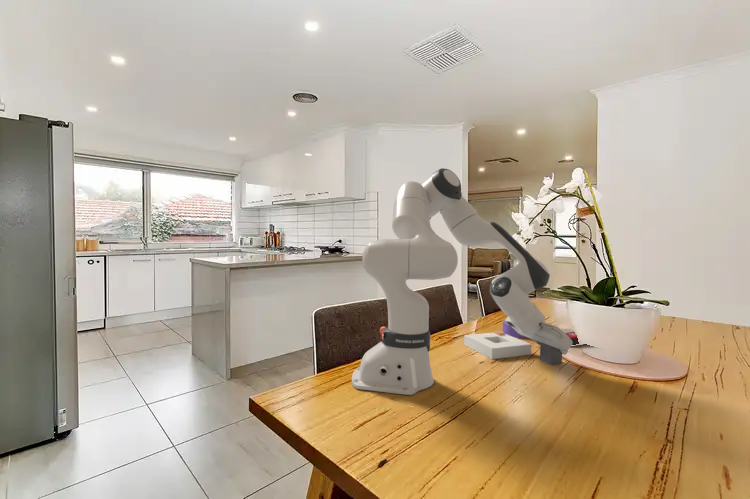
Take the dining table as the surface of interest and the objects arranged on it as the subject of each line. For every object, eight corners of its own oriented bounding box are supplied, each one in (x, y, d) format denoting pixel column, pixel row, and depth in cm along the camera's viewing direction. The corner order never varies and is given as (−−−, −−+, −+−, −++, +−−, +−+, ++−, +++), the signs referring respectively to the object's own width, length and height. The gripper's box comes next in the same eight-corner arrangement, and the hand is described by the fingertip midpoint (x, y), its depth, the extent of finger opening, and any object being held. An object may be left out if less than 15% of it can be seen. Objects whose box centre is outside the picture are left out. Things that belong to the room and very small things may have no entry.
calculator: (545, 330, 137) (574, 325, 142) (545, 341, 138) (574, 336, 142) (568, 338, 127) (599, 333, 131) (568, 349, 127) (599, 344, 132)
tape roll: (513, 339, 136) (513, 326, 136) (496, 331, 148) (497, 319, 148) (539, 338, 139) (539, 325, 139) (521, 330, 150) (521, 318, 150)
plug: (550, 365, 109) (551, 339, 108) (539, 360, 113) (540, 335, 113) (561, 363, 110) (562, 338, 110) (550, 358, 114) (551, 334, 114)
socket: (491, 359, 113) (492, 346, 113) (464, 344, 128) (464, 333, 128) (531, 354, 118) (531, 341, 118) (500, 341, 133) (500, 329, 133)
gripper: (562, 319, 99) (587, 350, 102) (512, 306, 118) (534, 332, 122) (549, 336, 98) (575, 367, 101) (501, 320, 117) (524, 346, 120)
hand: (552, 348), depth 112 cm, fingers open, 8 cm apart
